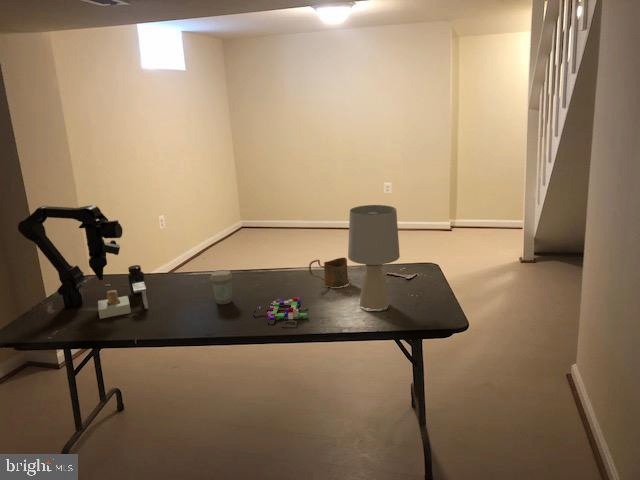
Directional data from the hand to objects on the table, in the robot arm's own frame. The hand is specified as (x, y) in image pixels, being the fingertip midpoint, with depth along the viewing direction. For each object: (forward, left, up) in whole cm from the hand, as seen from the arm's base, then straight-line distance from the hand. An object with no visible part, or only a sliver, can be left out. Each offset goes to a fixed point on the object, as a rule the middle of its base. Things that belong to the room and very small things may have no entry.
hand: (101, 276), depth 201 cm
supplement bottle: (+13, +6, -12) cm, 19 cm away
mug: (+87, -26, -12) cm, 92 cm away
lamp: (+92, -55, -12) cm, 108 cm away
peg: (+3, -9, -12) cm, 15 cm away
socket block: (+3, -9, -12) cm, 15 cm away
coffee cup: (+43, -21, -12) cm, 49 cm away
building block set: (+59, -43, -13) cm, 74 cm away
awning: (+13, -9, -12) cm, 20 cm away
